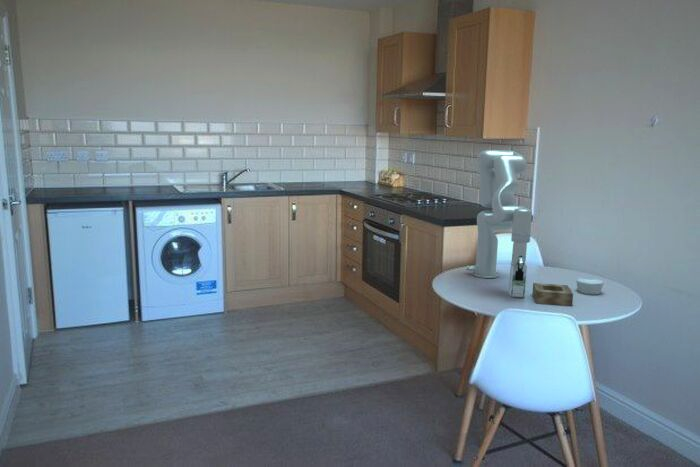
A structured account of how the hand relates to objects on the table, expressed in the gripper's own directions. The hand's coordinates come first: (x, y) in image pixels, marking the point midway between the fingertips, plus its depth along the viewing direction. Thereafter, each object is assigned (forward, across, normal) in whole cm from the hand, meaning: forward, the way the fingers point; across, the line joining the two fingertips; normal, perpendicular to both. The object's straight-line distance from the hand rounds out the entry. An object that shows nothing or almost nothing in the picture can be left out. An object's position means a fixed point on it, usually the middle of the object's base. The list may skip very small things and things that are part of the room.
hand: (518, 277), depth 247 cm
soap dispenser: (+8, 0, 0) cm, 8 cm away
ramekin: (+8, -16, +32) cm, 37 cm away
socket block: (+8, +2, +14) cm, 16 cm away
